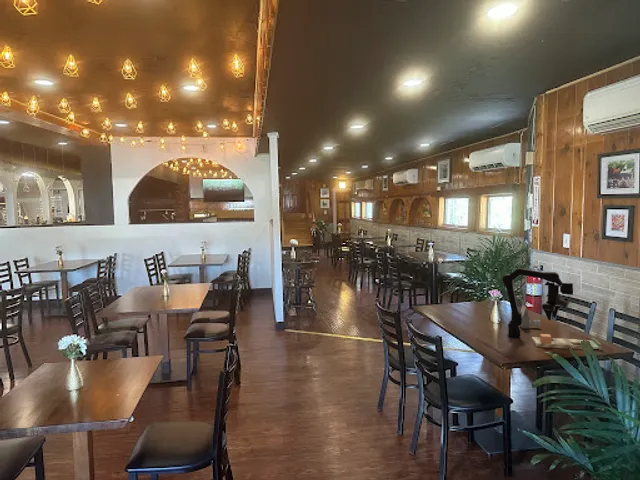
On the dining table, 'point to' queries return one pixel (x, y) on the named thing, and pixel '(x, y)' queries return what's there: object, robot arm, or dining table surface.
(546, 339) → the orange block
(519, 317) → the robot arm
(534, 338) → the trap board
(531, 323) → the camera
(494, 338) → the dining table surface
